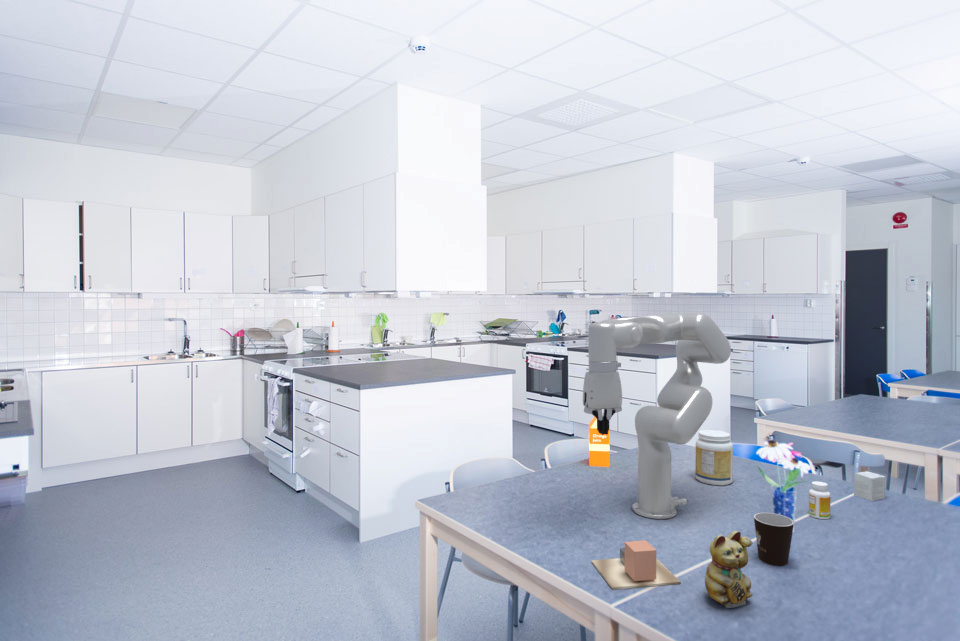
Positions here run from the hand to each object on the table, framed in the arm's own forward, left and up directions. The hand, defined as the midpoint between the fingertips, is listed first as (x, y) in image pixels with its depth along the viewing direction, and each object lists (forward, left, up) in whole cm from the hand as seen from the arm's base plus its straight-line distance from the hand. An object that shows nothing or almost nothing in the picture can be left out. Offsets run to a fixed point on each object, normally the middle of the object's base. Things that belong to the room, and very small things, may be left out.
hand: (603, 433), depth 154 cm
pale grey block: (-94, -10, -27) cm, 98 cm away
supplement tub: (-54, -33, -27) cm, 69 cm away
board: (+2, +26, -27) cm, 37 cm away
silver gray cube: (+2, +22, -27) cm, 34 cm away
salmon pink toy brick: (+2, +29, -26) cm, 38 cm away
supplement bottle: (-66, +2, -27) cm, 71 cm away
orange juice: (-22, -60, -27) cm, 70 cm away
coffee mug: (-35, +24, -27) cm, 50 cm away
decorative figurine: (-12, +40, -27) cm, 49 cm away
